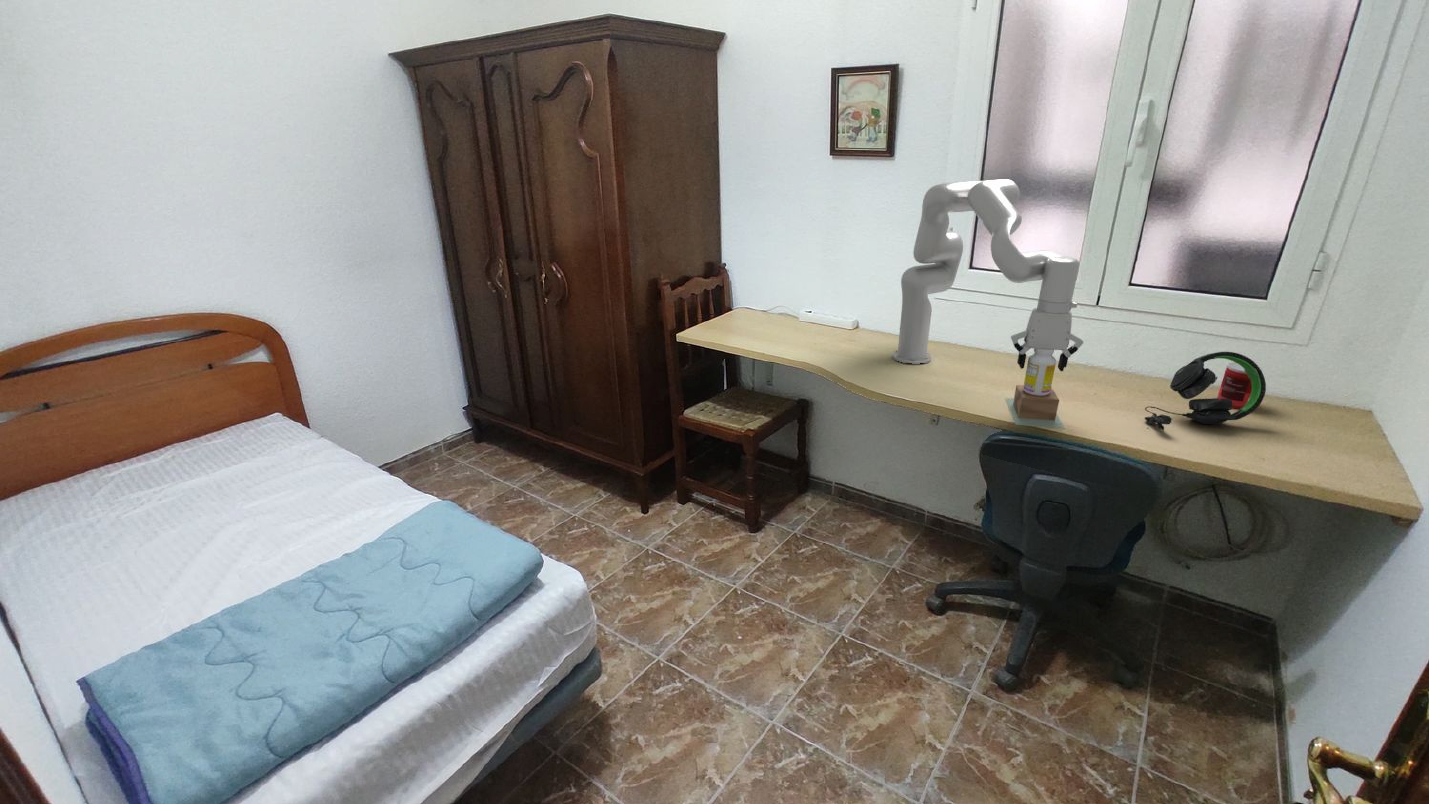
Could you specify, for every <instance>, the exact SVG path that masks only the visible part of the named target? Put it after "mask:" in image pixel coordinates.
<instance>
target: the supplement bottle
mask: <svg viewBox="0 0 1429 804" xmlns="http://www.w3.org/2000/svg"><path fill="white" fill-rule="evenodd" d="M1054 351H1055V350H1052V349H1034V348H1033V352H1034V353H1032V354H1031V355H1029V357H1028V359H1027V365H1026V370H1025V377H1024V382H1023V385H1024V387H1023V389H1024V391H1025V392H1026V393H1028V394H1031V395H1036V396H1045V395H1048V394H1049V393H1050V390H1051V387H1052V385H1053V378H1054V374H1055V368H1056V365H1057V359H1056V357H1054V356H1053V354H1054V353H1055V352H1054Z"/></svg>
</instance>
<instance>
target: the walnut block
mask: <svg viewBox="0 0 1429 804" xmlns="http://www.w3.org/2000/svg"><path fill="white" fill-rule="evenodd" d="M1023 387H1024V384H1022V385H1021V384H1016V387H1015V391H1014V402H1013V406H1014V408H1015V410H1016V413H1017V415H1018V417H1019V418H1027V419H1040V420H1054V421H1055V418H1056V413H1057V412H1058V407H1059V403H1060V399H1059V397H1058V395H1057V394H1056V392H1055V390H1054V389H1053V387H1052V386H1051V390H1050V393H1049V394H1048V395H1045V396H1036V395H1031V394H1028V393H1026V392H1025V391H1024V389H1023ZM1057 414H1058V413H1057Z"/></svg>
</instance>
